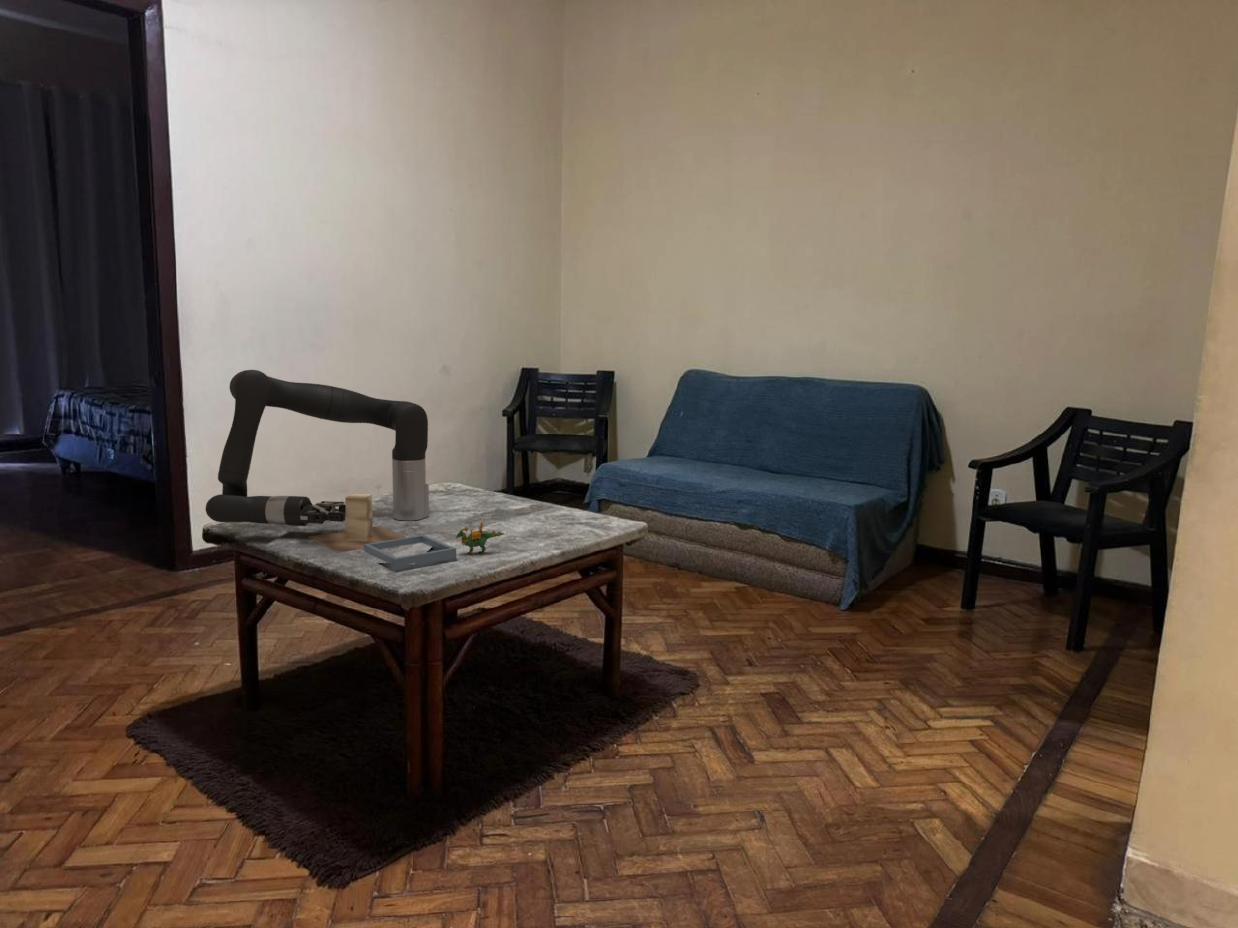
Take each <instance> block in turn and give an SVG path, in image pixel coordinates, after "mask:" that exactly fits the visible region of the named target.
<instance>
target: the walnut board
mask: <svg viewBox="0 0 1238 928" xmlns="http://www.w3.org/2000/svg"><path fill="white" fill-rule="evenodd" d="M307 538H308V539H310V540H312V541H313V542H315V543H317V544H319V545H321V546H323V547H325V548H327V549H329V550H330V551H332V552H334V553H343V552H350V551H355V550H356V551H357V550H361V549H364V544H370V543H376V542H382V541H388V540H394V539H400V538H407V537H406V536H404V535H402V534H400V533H398V532H395V531H393V530H390V529H388V528H385V527H383V526H382V525H379V526H373V537H371V538H370V539H369V540H367V541H346V530H344V531H337V532H331V533H325V534H318V535H311V536H307Z"/></svg>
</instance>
